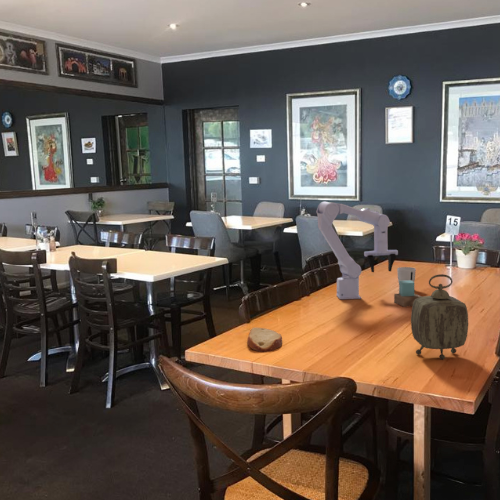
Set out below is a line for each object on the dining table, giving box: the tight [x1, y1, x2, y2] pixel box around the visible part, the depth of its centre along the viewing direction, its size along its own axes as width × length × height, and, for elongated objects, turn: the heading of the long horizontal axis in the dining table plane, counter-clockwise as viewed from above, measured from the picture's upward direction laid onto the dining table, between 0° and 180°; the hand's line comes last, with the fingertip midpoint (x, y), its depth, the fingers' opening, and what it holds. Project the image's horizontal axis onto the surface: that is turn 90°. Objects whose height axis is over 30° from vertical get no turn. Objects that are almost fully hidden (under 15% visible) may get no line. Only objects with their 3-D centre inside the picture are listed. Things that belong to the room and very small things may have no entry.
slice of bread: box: [246, 326, 283, 353], centre depth 184 cm, size 18×18×4 cm
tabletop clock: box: [410, 273, 469, 361], centre depth 162 cm, size 14×9×25 cm, turn 92°
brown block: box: [393, 293, 423, 308], centre depth 228 cm, size 8×8×4 cm
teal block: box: [398, 280, 415, 296], centre depth 228 cm, size 5×5×6 cm
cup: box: [396, 266, 416, 283], centre depth 253 cm, size 8×8×10 cm
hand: (381, 271), depth 245 cm, fingers open, 7 cm apart
